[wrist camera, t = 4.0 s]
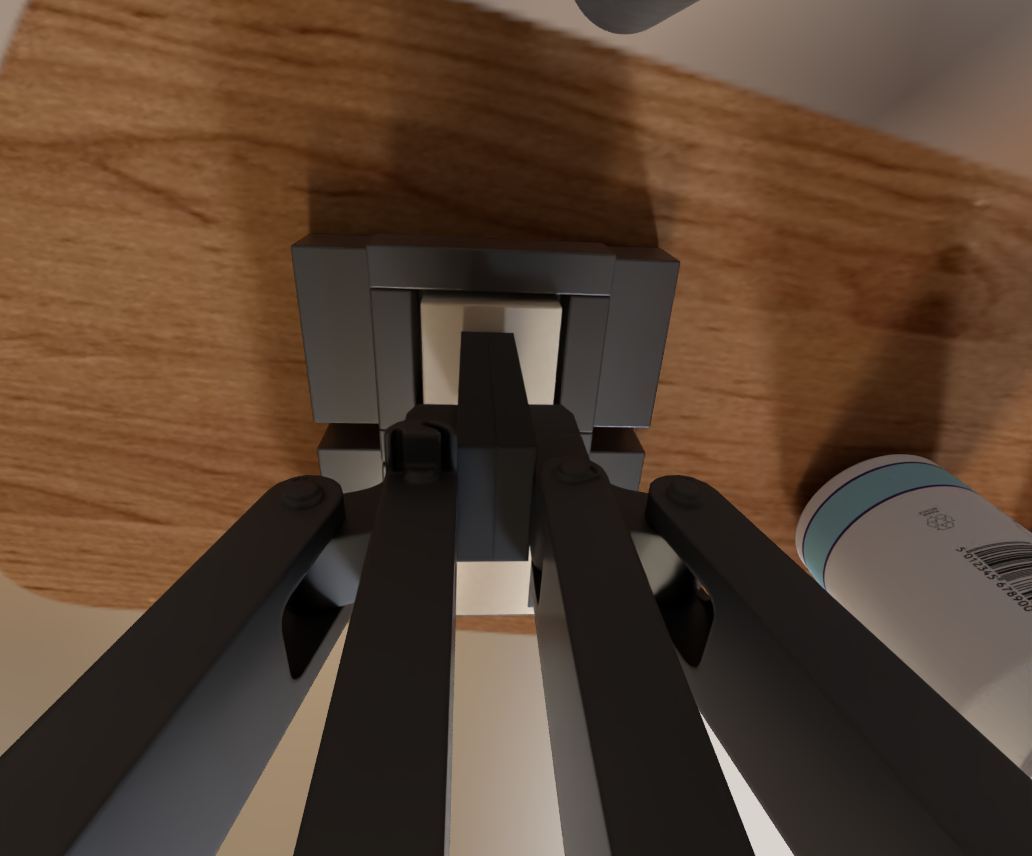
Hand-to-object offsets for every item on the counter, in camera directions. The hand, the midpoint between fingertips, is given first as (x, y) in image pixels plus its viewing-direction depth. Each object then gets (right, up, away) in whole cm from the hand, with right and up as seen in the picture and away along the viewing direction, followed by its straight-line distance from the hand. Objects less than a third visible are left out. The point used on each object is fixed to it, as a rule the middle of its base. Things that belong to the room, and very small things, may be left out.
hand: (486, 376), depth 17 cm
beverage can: (+17, -5, +9) cm, 20 cm away
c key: (0, +1, +2) cm, 2 cm away
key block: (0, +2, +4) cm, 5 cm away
